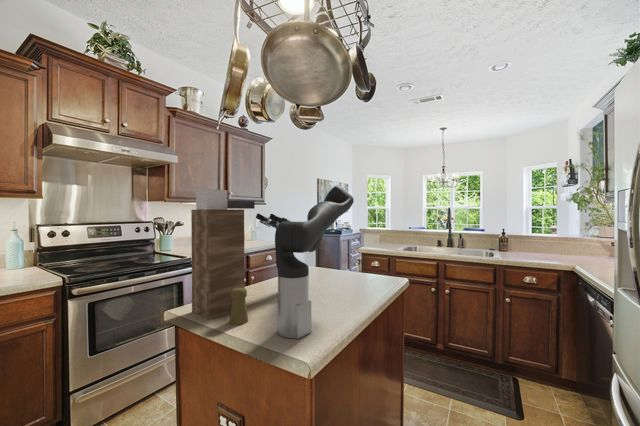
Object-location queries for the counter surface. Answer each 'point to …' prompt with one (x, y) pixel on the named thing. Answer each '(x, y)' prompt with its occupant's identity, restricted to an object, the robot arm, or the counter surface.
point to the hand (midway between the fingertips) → (263, 215)
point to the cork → (238, 307)
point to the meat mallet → (219, 200)
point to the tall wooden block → (216, 259)
